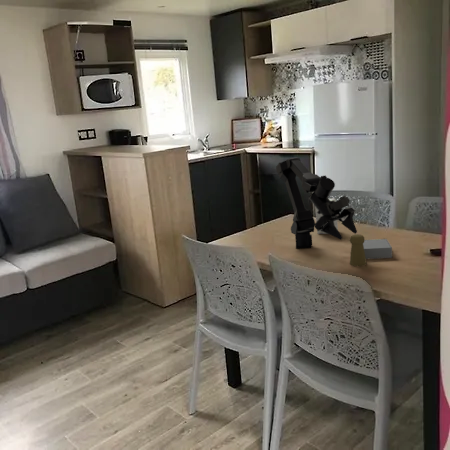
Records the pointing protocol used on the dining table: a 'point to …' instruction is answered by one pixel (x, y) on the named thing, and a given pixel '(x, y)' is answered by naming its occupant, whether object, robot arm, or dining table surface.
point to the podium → (377, 249)
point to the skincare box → (322, 215)
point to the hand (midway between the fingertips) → (349, 235)
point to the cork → (357, 250)
